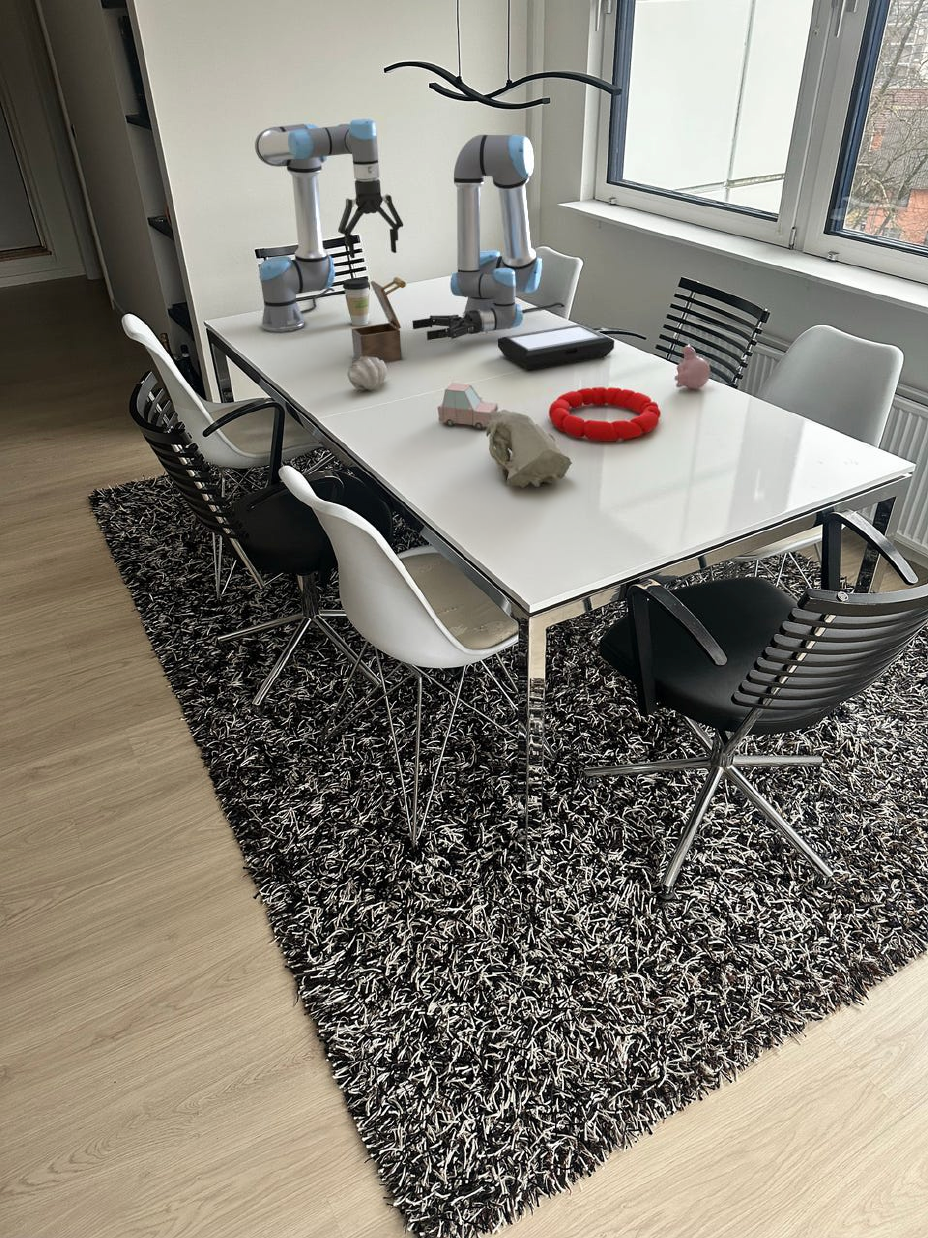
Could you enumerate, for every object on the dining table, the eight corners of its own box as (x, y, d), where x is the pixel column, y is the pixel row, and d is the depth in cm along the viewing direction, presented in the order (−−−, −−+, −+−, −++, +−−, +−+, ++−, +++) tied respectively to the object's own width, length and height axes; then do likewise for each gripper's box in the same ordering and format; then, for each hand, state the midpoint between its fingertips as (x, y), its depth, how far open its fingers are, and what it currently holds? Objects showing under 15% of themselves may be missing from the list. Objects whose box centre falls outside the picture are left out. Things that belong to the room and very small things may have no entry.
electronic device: (525, 353, 274) (497, 336, 289) (525, 373, 277) (497, 355, 292) (614, 337, 284) (582, 321, 299) (613, 356, 288) (581, 340, 303)
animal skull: (496, 517, 219) (521, 479, 201) (463, 429, 225) (484, 384, 207) (557, 503, 225) (586, 465, 206) (523, 417, 231) (549, 373, 212)
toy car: (488, 432, 240) (488, 396, 234) (436, 426, 244) (434, 390, 239) (499, 419, 247) (499, 384, 241) (448, 413, 252) (447, 379, 246)
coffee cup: (372, 326, 323) (368, 283, 314) (345, 327, 323) (340, 284, 315) (374, 318, 331) (371, 276, 322) (348, 319, 331) (344, 277, 323)
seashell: (340, 388, 271) (336, 356, 265) (384, 379, 276) (382, 347, 271) (353, 398, 263) (350, 365, 258) (399, 389, 269) (396, 356, 263)
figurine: (665, 387, 264) (669, 347, 257) (693, 380, 268) (698, 340, 261) (686, 396, 257) (690, 355, 250) (714, 388, 262) (720, 348, 255)
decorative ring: (589, 435, 224) (684, 402, 234) (527, 398, 247) (617, 369, 256) (589, 461, 229) (683, 427, 238) (529, 422, 251) (617, 393, 260)
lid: (380, 289, 277) (403, 275, 278) (370, 282, 285) (393, 268, 286) (398, 329, 286) (421, 315, 287) (388, 321, 294) (410, 308, 295)
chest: (363, 365, 288) (360, 336, 283) (354, 357, 295) (351, 328, 290) (402, 359, 292) (400, 330, 287) (392, 351, 300) (389, 322, 294)
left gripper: (330, 184, 257) (338, 261, 269) (410, 176, 265) (415, 252, 277) (322, 181, 263) (331, 256, 275) (402, 173, 271) (406, 247, 283)
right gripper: (494, 342, 294) (434, 352, 288) (464, 322, 313) (407, 331, 307) (493, 319, 290) (433, 328, 283) (463, 301, 309) (406, 309, 303)
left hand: (373, 254), depth 276 cm, fingers open, 13 cm apart
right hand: (419, 330), depth 295 cm, fingers open, 13 cm apart
